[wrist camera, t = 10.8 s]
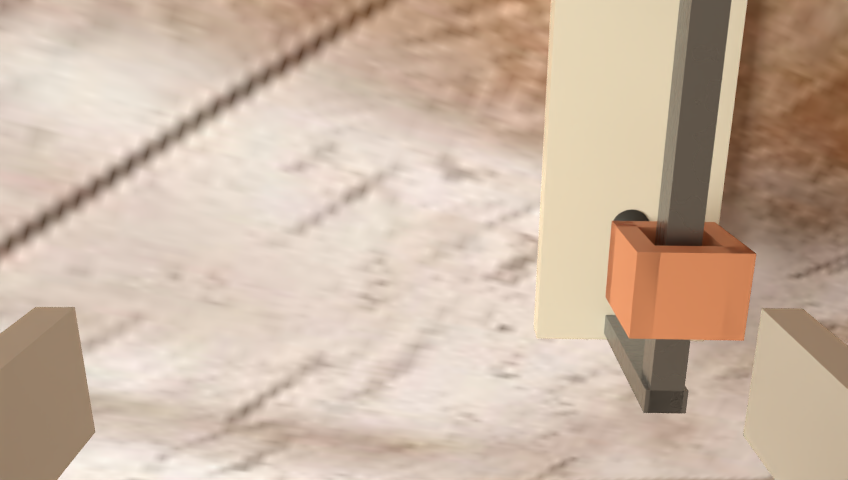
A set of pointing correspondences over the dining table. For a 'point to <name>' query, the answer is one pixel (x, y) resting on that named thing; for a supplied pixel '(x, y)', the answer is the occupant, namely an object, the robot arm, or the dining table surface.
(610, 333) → the grey slider rail frame
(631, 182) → the hole board
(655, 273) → the slider sleeve
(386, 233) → the dining table surface
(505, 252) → the dining table surface
